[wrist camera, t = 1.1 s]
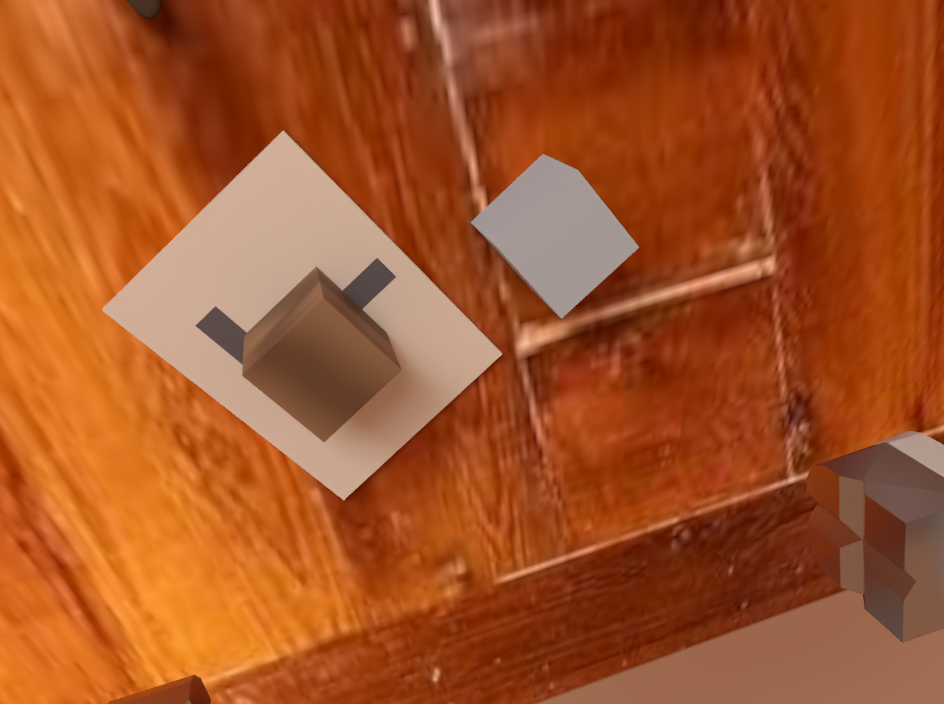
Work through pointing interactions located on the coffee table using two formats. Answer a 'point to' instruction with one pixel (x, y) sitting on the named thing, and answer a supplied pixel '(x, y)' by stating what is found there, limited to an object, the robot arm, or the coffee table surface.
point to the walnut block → (318, 355)
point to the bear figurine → (146, 7)
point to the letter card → (271, 278)
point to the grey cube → (555, 233)
